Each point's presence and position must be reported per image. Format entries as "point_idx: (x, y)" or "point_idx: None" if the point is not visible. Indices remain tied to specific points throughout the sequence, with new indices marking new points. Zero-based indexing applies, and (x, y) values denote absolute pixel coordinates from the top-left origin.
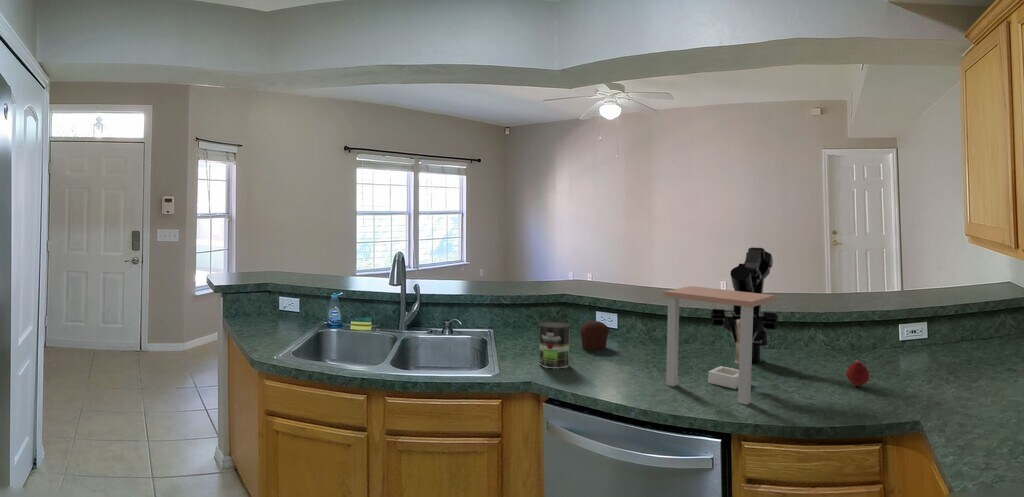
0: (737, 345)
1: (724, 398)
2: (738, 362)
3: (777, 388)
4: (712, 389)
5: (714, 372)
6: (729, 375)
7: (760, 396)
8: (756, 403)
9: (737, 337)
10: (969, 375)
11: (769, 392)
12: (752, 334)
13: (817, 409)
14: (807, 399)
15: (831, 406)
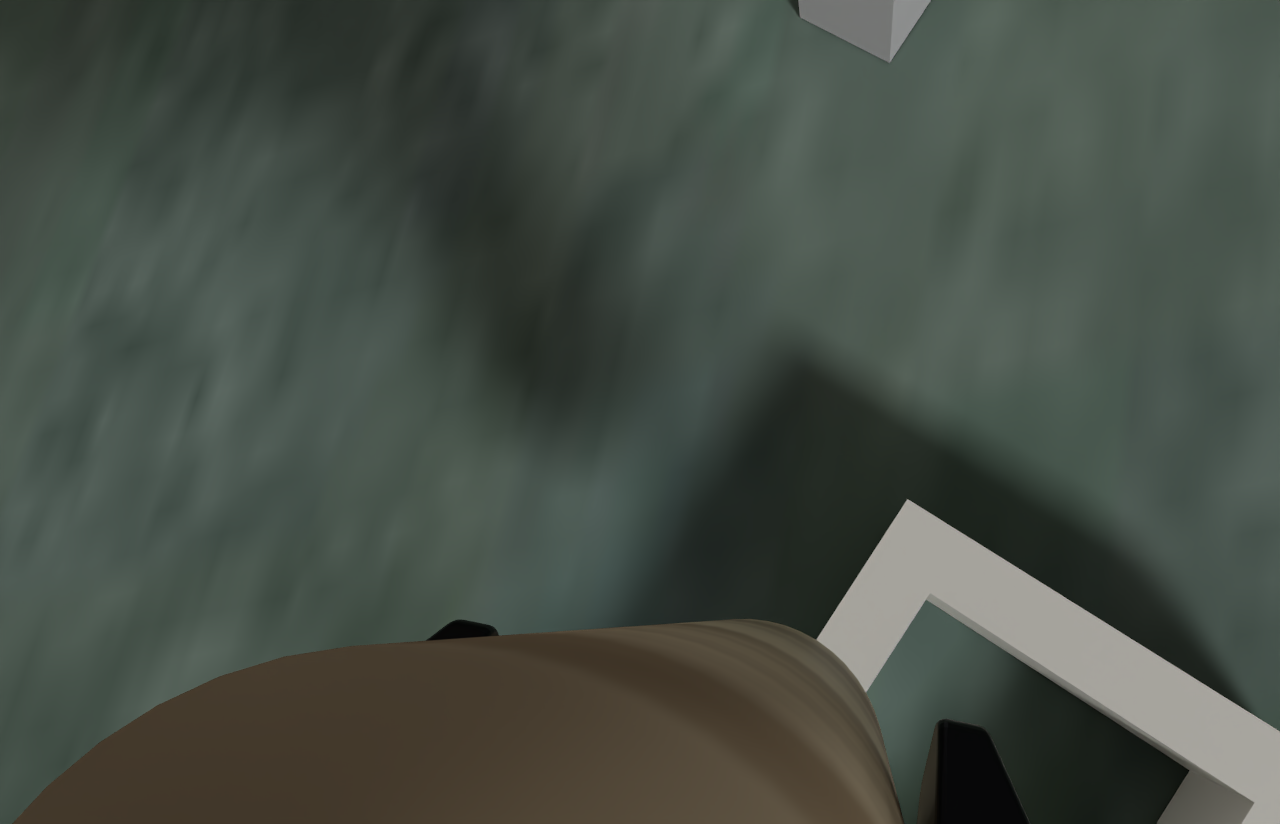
0: (872, 734)
1: (1094, 89)
2: (840, 662)
3: None
4: (1231, 428)
5: (1249, 735)
6: (993, 587)
7: (631, 279)
8: (732, 17)
9: (885, 782)
10: None
11: (485, 463)
12: None
13: (172, 11)
14: (152, 300)
15: (13, 137)
